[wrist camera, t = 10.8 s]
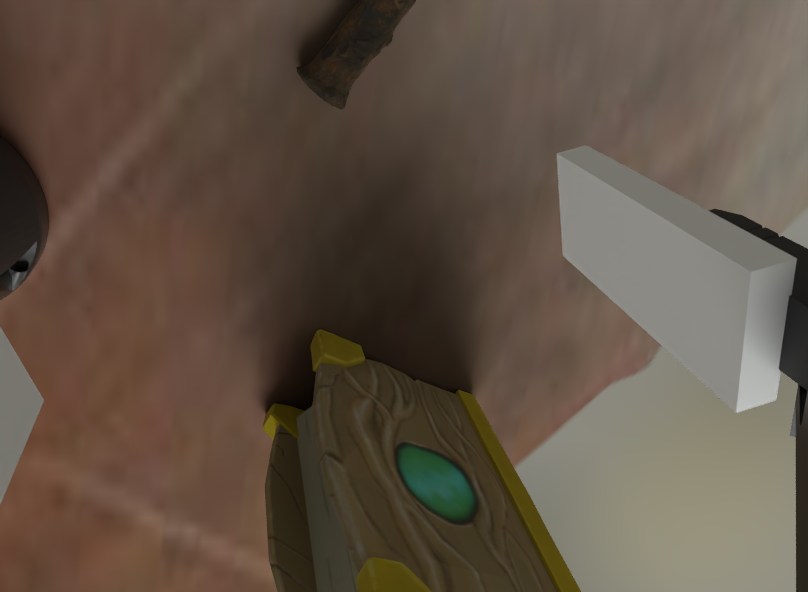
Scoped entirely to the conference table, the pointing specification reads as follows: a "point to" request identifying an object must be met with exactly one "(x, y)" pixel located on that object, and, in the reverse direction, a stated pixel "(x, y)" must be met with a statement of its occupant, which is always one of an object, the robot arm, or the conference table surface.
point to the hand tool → (353, 48)
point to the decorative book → (397, 489)
